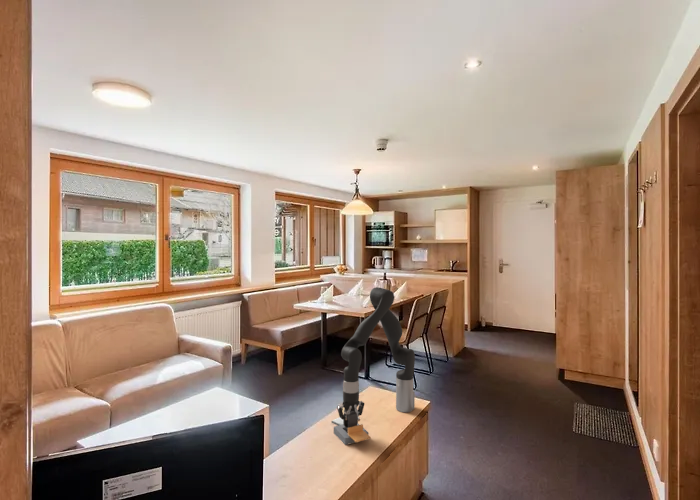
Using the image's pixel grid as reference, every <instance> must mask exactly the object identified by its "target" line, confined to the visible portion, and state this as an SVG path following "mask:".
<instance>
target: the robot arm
mask: <svg viewBox="0 0 700 500" xmlns="http://www.w3.org/2000/svg"><path fill="white" fill-rule="evenodd" d="M369 301H370V303H371V305H372V307H373V309H374V311H373V312H372V313H371V314H370V315H369V316H367V317H366V318H365V319H363V321H361V322H360V323H359V325H358V327H357V328H356V330H355V332H354V334H353V335H352V336H351V337H350V338H349V340H348V341H347V342H346V343H345V344H344V346H343V347H342V349H341V352H340V356H341V358H342V359H343V360H344V361H346V362H348V366H345V367H344V368H343V383H342V404H341V405H337V406H336V409H337V412H338V416H339V417H340V418H341V419H342V420H343V425H344V426H345V427H346V428H347V427H348V420H347V419H348V415H349V414H350V412H352V411H354V412H355V413H357V424H359V420H358V417H359V416H362V415H363V412H364V407H365V402H364V401H363V400H360V381H359V380H360V379H359V378H360V377H359V375H360V373H359V371H360V367H361V364H362V358H363V356H362V355H363V354H362V352H361V350H360V349H359V347H362V346H365V345H366V344H367V343H368V340H369V339H370V337H371V334H372V333H373V331H374V329H375V328H376V326H378V324H379V322H380V323H381V324H380V325H381V326H382V329H383V332H384V334H385V336H386V339H387V342H388V344H389V348H390V351H391V355H392V359H393V361H394V363H395V364H397V365H400V366H403V367H404V369H400V370H397V371H396V378H395V379H396V381H395V382H396V385H395V386H396V387H395V389H396V390H395V391H396V392H395V398H396V399H395V410H396V411H398V412H401V413H411V412H413V410H415V409H416V408H415V404H416V403H415V402H416V401H415V398H416V397H415V396H416V394H415V391H414V373H415V363H416V361H415V360H416V357H415V356H416V354H415V351H414V350H413V349H412V348H411V349H410V348H406V347H402V346H401V344H400V340H401V338H402V335H403V328H402V326H401V322H400V320H399V319H398V318H397V316H396V315H395V314H394V313H393V312H392V311H391V309H390V308H392V305H393V304H394V302H395V294H394V292H393V291H392V290H390V289H387V288H383V287H379V286H376V287H373V288H372V289H371V291H370V294H369ZM359 400H360V401H359ZM359 418H360V417H359Z"/></svg>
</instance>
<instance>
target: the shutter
mask: <svg viewBox="0 0 700 500" xmlns="http://www.w3.org/2000/svg"><path fill="white" fill-rule="evenodd" d="M363 428H364V424H363V423H362V424H359V425H357V426H353V427H349V428H348V435H349V436H350V437H351V438H352V439H353V440H354V441H355V442H354V443H359V442H362V441H366V440H367V441H368V440H370V439H371V436H370V435H369V433H368V434H367V433H366V432H364V431H363Z"/></svg>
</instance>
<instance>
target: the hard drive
mask: <svg viewBox="0 0 700 500" xmlns="http://www.w3.org/2000/svg"><path fill="white" fill-rule="evenodd" d="M359 420H361V419H360V417H358V421H359ZM330 422H331V424H333V425H335V426H339V425H343V420H342V419H341V418H340V416H339V417H337V418H335V419H333V420H331V421H330Z"/></svg>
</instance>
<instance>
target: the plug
mask: <svg viewBox="0 0 700 500" xmlns="http://www.w3.org/2000/svg"><path fill="white" fill-rule="evenodd" d="M347 420H348V427H347V428H346V427H345V426H344V427H345V428H346V429H347V430H348V428H349V427H353V426H357V413H355V412H354V411H352V412H350V414H349V415H348V419H347Z"/></svg>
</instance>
